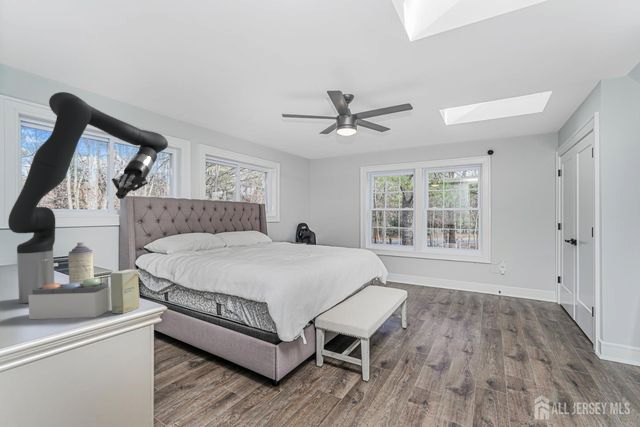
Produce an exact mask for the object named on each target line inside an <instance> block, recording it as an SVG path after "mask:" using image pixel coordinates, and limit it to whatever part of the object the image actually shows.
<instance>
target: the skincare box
mask: <svg viewBox="0 0 640 427" xmlns="http://www.w3.org/2000/svg"><path fill="white" fill-rule="evenodd" d="M109 274H110V287H111V308H112V309H111V313H112V314H126V313H128V312H130V311H133V310H136V309H139V308H140V289H139V288H140V287H139V269H130V268H129V269H124V270H119V271H114V272H110V273H109Z"/></svg>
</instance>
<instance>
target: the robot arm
mask: <svg viewBox="0 0 640 427" xmlns="http://www.w3.org/2000/svg"><path fill="white" fill-rule="evenodd" d="M48 104H49V108H50V110H51V111H52V113H53V114H54V115H55V116H56V120H55V124H54V127H53V129H52V132H51V134H50V136H49V137H48V138H47V140H46V141H44V142H43V144H42V145H40V146H39V147H38V149H37V150H36V152H35V154H34V156H33V159H32V161H31V164H30V168H29V171H28V174H27V177H26V179H25V182H24V184H23V186H22V188H21V191H20V193H19V195H18V197H17V199H16V200H15V202H14V204H13V206H12V209H11V211H10V213H9V214H8V221H7V222H8V228H9V229H10V231H11V232H13V233H15V234H33V235H32V237H31V238H30V239H28V240H26V241H24V242H22V243H20V244H18V245H17V247H16V254H17V255H16V258H17V260H16V261H17V280H18V282H17V283H18V303H19V304H29V297H28V295H31V294H33V293H32V290H33V289H37V288H40V287H42V286H43V285H47V284H53V283H55V265H54V261H55V260H54V259H55V258H54V244H55V242H56V215H55V212H54V211H53V210H52V209H51V208H49V207H46V206H38V205H39V203H40V201H42V199H43V198H44V197H45V196H46V195H48V194H49V193H50V192H51V191H53V190H54V189H55V188H57V187H58V186H59V185H60V184H62V183H63V181H64V180H65V179H66V177H67V174H68V172H69V168H70V166H71V163H72V160H73V158H74V156H75V152H76V149H77V146H78V144H79V141H80V139H81V137H82V135H83V133H84V132H85V130H86V128H87V127H88V125H89V126H92V127H94V128H96V129H99V130H100V131H102V132H104V133H106V134H108V135H110V136H111V137H114V138H117V139H118V140H120V141H122V142H124V143H125V142H126V143H127V144H131V145H133V146H137V147H139V148H138V151H137V152H136V154H135V155H134V156H133V157H132V158H131V160H130V161H129V162H128V163H127V165H126V166H125V168H123V173H122V174H121V175H120V176H119V178H117V179H116V178H112V179H111V181H112V183H113V185H114V187H115V188H116V190H117V191H116V192H115V196H116V197H117V199H119V200H121V199H122V200H124V198H126V197H127V195H128V194H129V193H130V192H131V191H132V192H136V191H138V190H139V189H141V188H143V187H144V186H146V185H148V184H149V182H148V180H147V179H146V178H147V177H148V175H149V174H150V172H151V170H152V169H153V166H154V164H155V162H156V161H157V159H158V154H159V153H161V152H162V151H164V150H166V149H167V148H168V146H169V142H168V140H167V138H166V137H165V136H163V134H160V133H158V132H155V131H152V130H151V131H149V130H145V129H140V128H138V127H136V126H134V125H132V124H129V122H128V123H127V122H125V121H123V120H120V119H119V118H116V117H115V116H114V117H113V116H111V115H109V114H107V113H104V112H102V111H101V110H99V109H96V108H94V107H93V106H91V105H89V104H88V103H87V102H86V101H85V100H83V99H82V98H81V97H78V96H77V95H75V94H73V93H71V92H64V91H61V92H60V91H59V92H56V93H54V94H53V95H51V96H50V97H49V100H48Z"/></svg>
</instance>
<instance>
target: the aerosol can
mask: <svg viewBox="0 0 640 427" xmlns="http://www.w3.org/2000/svg"><path fill="white" fill-rule="evenodd" d="M67 258H68V260H67V261H68V281H69V282H68V284H69V283H80V284H83V280H86V279H92V278H95V276H94V275H95V274H94V272H95V271H94V252H93V250H92V249H90V248H89V247H88V246H86V245H85V244H84V242H77V243H76V246H75V247H74V248H72V250H70V251H68V257H67Z"/></svg>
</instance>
